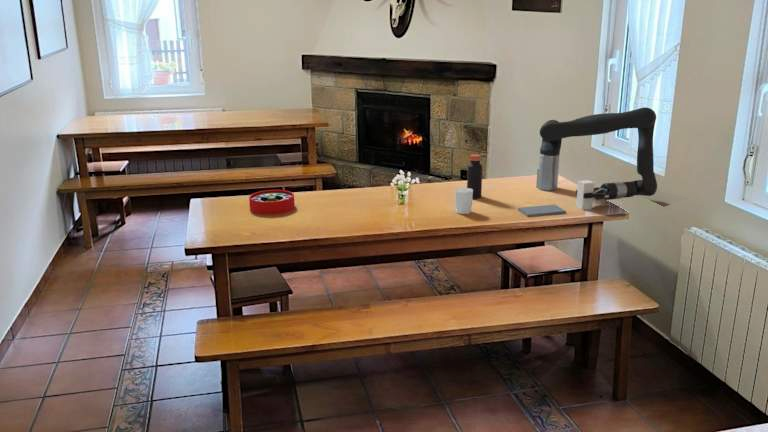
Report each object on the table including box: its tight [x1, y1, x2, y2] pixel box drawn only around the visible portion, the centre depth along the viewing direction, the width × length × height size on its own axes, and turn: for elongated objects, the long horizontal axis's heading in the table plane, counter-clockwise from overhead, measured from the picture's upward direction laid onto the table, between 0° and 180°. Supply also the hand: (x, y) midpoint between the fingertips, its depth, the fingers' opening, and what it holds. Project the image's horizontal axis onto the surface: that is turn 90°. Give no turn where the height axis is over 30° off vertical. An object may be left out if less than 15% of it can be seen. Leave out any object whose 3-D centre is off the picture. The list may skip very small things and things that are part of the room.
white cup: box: [454, 187, 473, 215], centre depth 301 cm, size 8×8×10 cm
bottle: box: [466, 153, 483, 200], centre depth 321 cm, size 7×7×20 cm
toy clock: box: [248, 189, 296, 215], centre depth 310 cm, size 20×6×20 cm
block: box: [575, 179, 595, 211], centre depth 305 cm, size 5×5×12 cm
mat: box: [517, 204, 567, 218], centre depth 302 cm, size 18×10×1 cm, turn 104°
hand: (580, 194), depth 304 cm, fingers open, 5 cm apart
